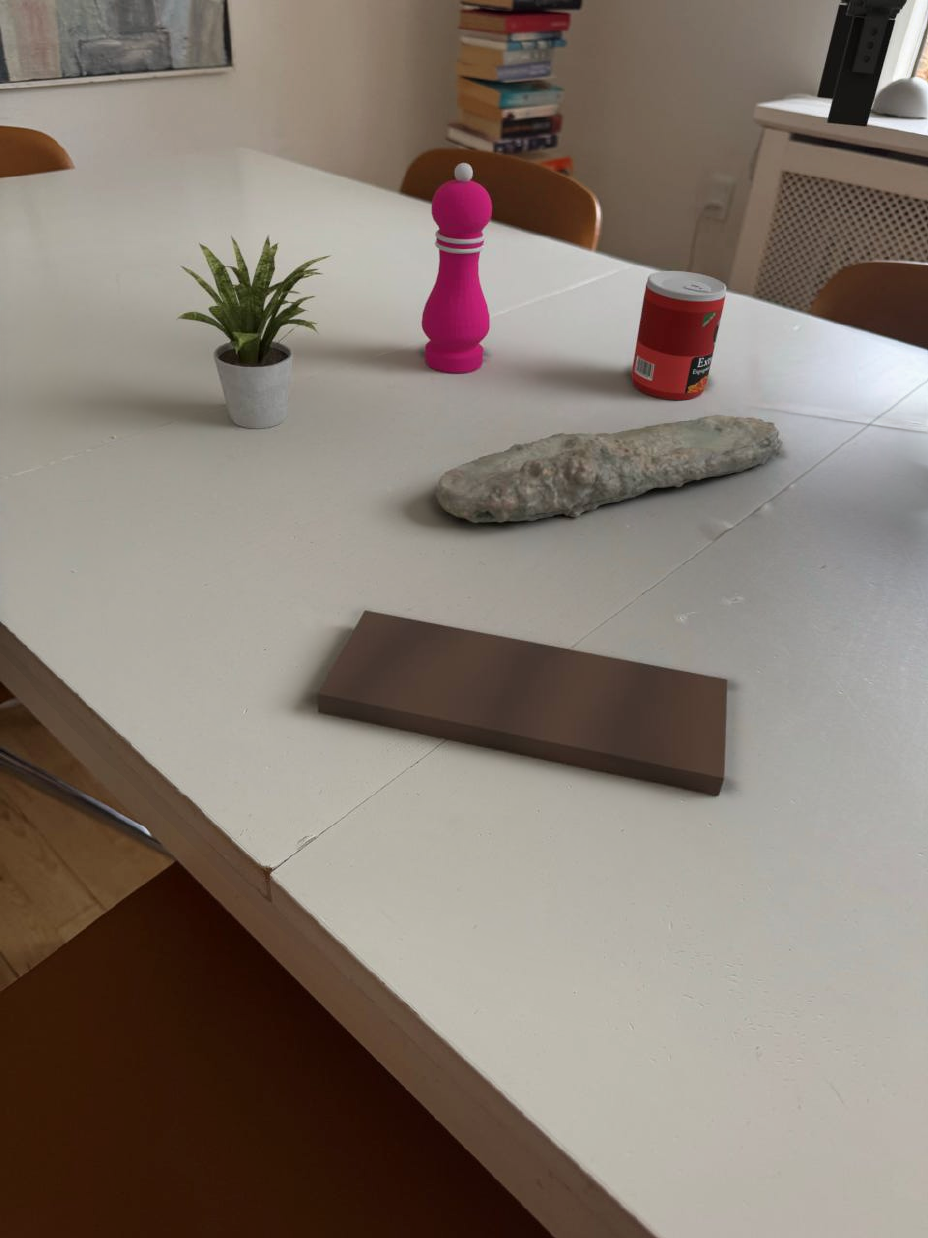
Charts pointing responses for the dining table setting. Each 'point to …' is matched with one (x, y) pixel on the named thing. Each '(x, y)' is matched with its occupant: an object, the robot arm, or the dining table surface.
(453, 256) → the pepper mill
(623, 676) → the bread board
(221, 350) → the house plant
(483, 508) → the elongated rock
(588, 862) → the dining table surface
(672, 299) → the canned food
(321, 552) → the dining table surface
